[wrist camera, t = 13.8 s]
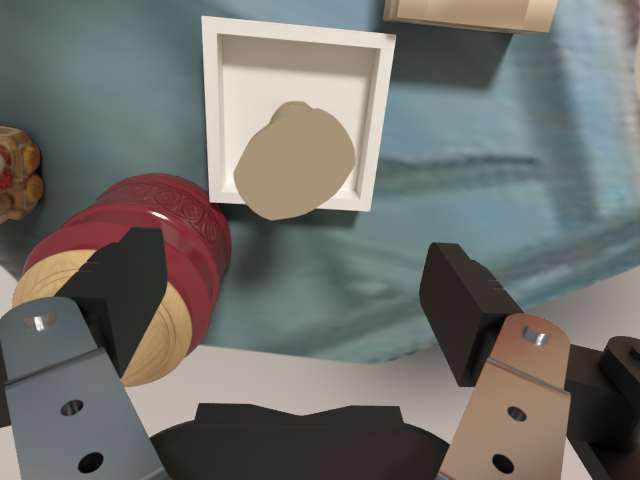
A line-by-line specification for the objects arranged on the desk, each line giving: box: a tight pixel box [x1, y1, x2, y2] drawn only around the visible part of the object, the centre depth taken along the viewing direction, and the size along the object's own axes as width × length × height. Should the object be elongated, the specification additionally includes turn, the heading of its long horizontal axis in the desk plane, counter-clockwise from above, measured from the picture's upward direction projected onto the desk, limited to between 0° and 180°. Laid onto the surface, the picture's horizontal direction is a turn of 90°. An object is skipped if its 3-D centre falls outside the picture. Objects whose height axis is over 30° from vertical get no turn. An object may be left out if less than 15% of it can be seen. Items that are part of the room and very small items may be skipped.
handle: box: [233, 101, 355, 220], centre depth 27 cm, size 5×6×15 cm
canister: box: [12, 173, 231, 387], centre depth 31 cm, size 13×13×18 cm
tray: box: [202, 16, 396, 211], centre depth 33 cm, size 14×14×4 cm
